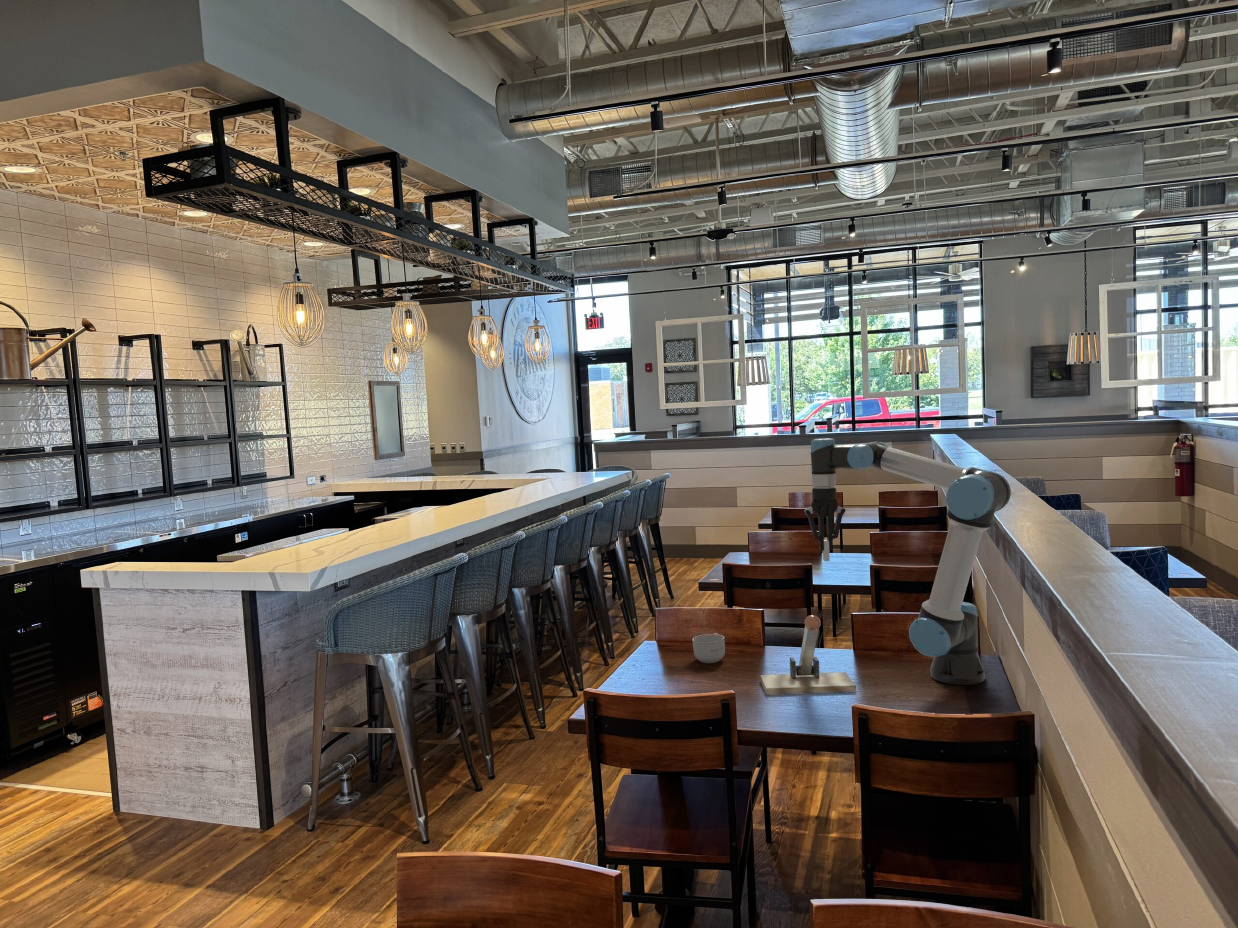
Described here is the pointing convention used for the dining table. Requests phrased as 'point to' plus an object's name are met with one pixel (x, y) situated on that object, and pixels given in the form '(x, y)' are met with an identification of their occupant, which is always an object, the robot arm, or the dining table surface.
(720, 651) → the teacup
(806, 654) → the press lever
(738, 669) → the dining table surface
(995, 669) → the dining table surface
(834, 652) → the dining table surface
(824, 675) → the board
